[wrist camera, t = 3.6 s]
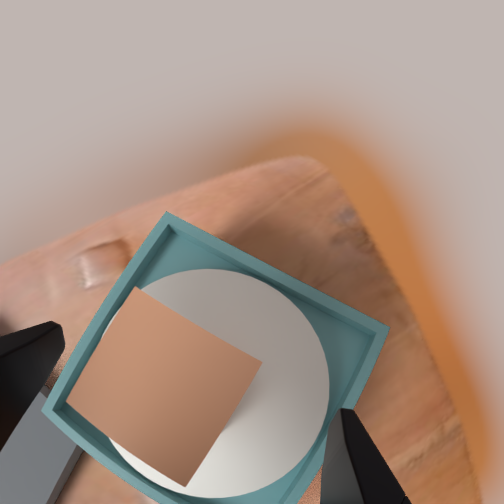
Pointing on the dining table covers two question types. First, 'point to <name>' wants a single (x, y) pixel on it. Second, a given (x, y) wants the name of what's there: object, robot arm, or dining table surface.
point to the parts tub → (233, 259)
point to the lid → (207, 383)
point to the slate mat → (36, 458)
